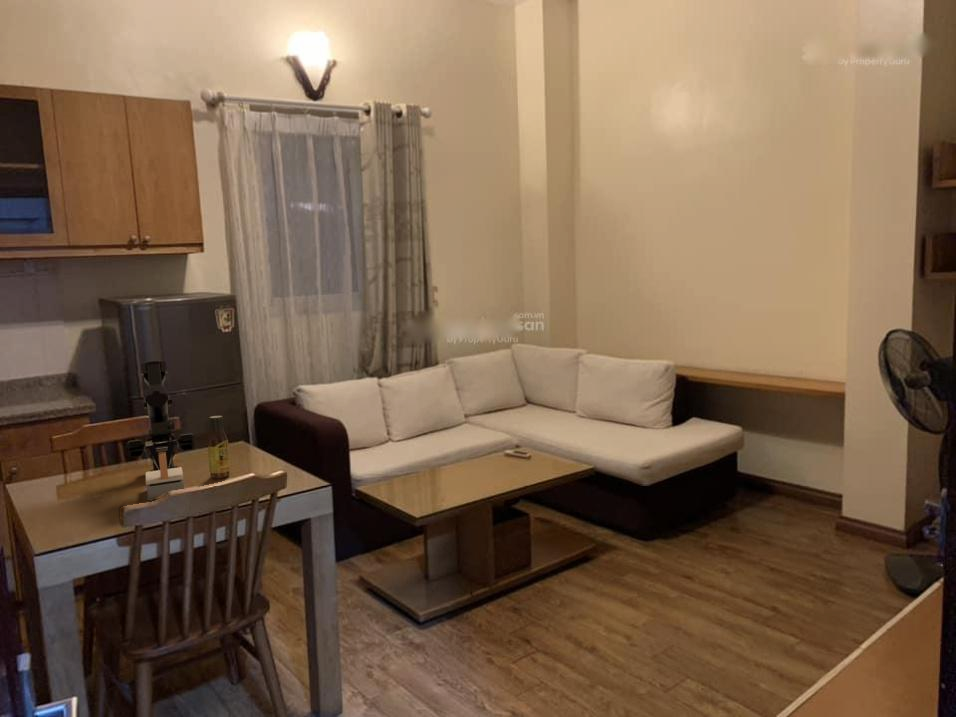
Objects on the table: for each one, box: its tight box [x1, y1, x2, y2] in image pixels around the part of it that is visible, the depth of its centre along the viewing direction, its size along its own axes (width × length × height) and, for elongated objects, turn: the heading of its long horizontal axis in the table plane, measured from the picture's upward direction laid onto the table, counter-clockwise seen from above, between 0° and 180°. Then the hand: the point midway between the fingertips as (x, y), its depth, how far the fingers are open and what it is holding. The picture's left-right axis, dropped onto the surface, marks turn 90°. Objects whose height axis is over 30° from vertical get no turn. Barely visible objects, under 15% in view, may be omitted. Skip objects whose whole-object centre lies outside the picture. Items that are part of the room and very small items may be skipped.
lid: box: [145, 452, 184, 486], centre depth 220 cm, size 12×10×8 cm
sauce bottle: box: [207, 415, 231, 479], centre depth 233 cm, size 6×6×20 cm
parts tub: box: [146, 479, 185, 501], centre depth 219 cm, size 12×10×4 cm
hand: (163, 468), depth 216 cm, fingers closed on lid, 2 cm apart
